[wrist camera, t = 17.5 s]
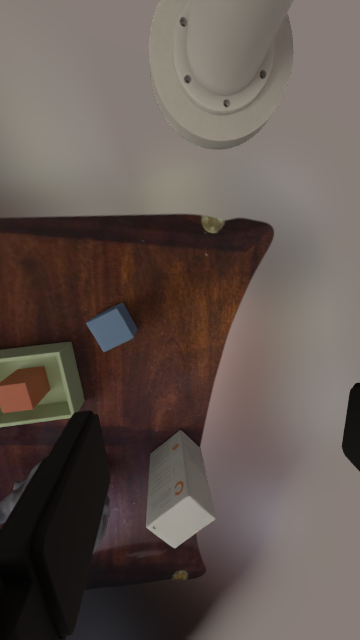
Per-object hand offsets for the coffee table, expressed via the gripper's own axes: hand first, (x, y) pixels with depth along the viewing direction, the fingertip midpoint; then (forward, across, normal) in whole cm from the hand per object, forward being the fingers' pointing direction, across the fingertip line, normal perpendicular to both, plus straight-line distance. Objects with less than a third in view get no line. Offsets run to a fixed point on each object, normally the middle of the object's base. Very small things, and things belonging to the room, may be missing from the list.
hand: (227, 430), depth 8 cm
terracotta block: (+29, +25, +12) cm, 40 cm away
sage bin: (+30, +25, +12) cm, 41 cm away
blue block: (+30, +10, +3) cm, 32 cm away
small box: (+30, +3, +30) cm, 43 cm away
